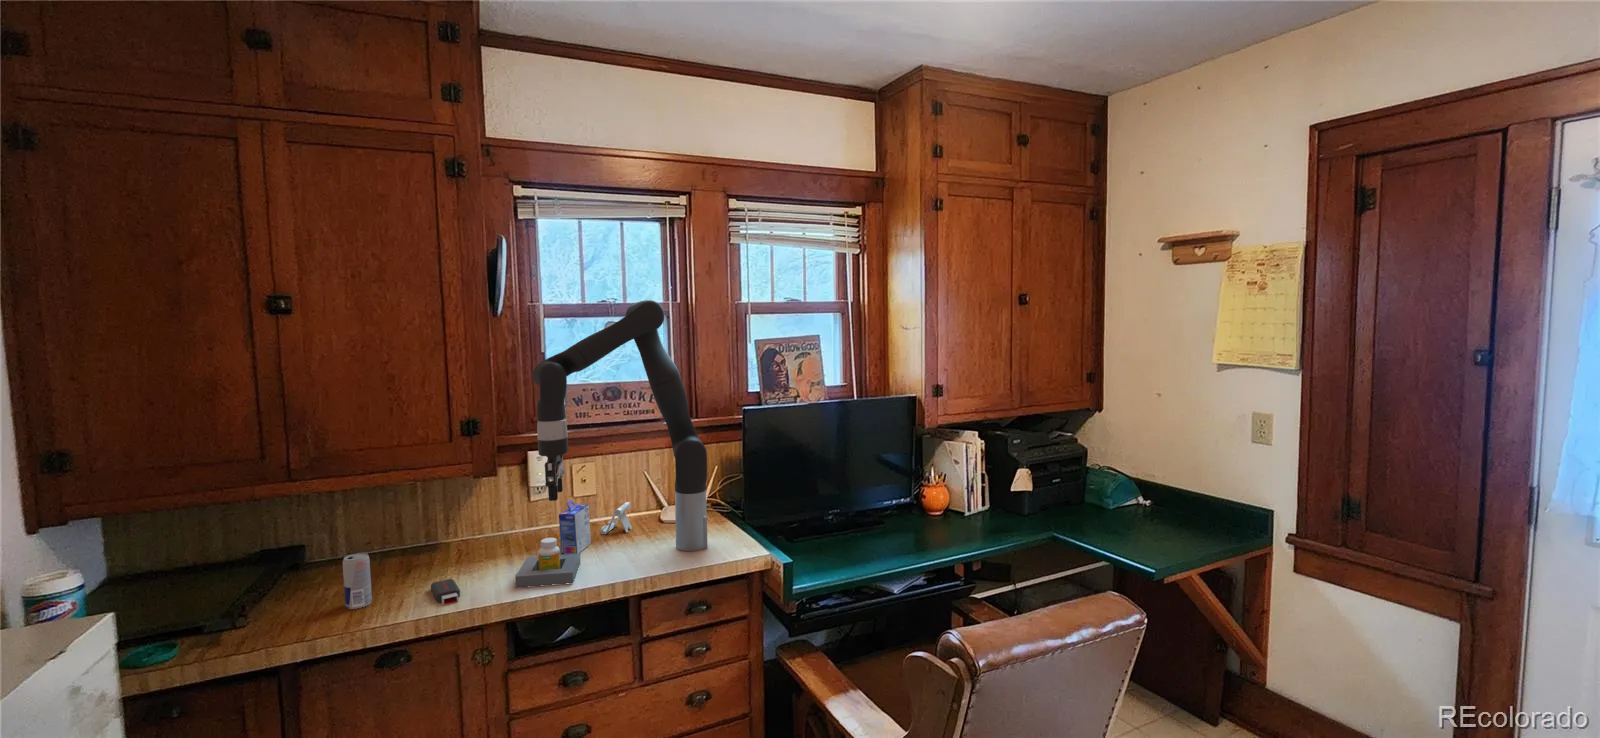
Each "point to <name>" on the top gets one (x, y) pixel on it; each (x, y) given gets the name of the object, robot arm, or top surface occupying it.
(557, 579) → the socket block
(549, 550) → the supplement bottle
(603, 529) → the portable electronic device stand
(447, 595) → the usb drive
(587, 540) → the ink cartridge box
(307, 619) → the top surface
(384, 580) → the top surface
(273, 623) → the top surface
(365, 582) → the energy drink
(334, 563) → the top surface
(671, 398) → the robot arm
